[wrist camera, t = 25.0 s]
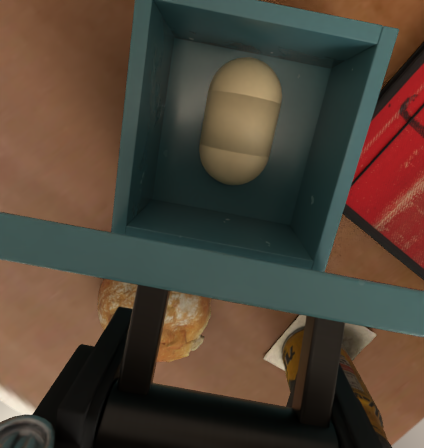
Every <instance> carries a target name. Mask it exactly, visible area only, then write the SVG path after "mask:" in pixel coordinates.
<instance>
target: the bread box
mask: <svg viewBox="0 0 424 448" xmlns="http://www.w3.org/2000/svg"><path fill="white" fill-rule="evenodd" d="M398 32H399V29H397V28H392V27H387V26H382V25H378V24H373V23H368V22H363V21H358V20H353V19H348V18H343V17H338V16H333V15H328V14H323V13H318V12H313V11H308V10H303V9H298V8H293V7H288V6H283V5H279V4H274V3H269V2H264V1H259V0H135V5H134V15H133V25H132V34H131V44H130V54H129V63H128V73H127V83H126V92H125V102H124V112H123V121H122V131H121V141H120V151H119V160H118V170H117V180H116V189H115V199H114V209H113V218H112V228H111V233H117V234H122V235H127V236H133V237H138V238H143V239H149V240H154V241H159V242H165V243H170V244H176V245H181V246H186V247H192V248H197V249H202V250H208V251H213V252H218V253H224V254H229V255H235V256H240V257H245V258H251V259H256V260H261V261H267V262H272V263H277V264H283V265H288V266H294V267H299V268H304V269H310V270H315V271H320V272H325V269H326V265H327V262H328V259H329V256H330V252H331V249H332V246H333V243H334V239H335V236H336V233H337V230H338V226H339V223H340V220H341V217H342V213H343V210H344V207H345V204H346V200H347V197H348V194H349V191H350V187H351V184H352V181H353V178H354V174H355V171H356V168H357V165H358V161H359V158H360V155H361V152H362V149H363V145H364V142H365V139H366V136H367V132H368V129H369V126H370V123H371V119H372V116H373V113H374V110H375V106H376V103H377V100H378V97H379V93H380V90H381V87H382V84H383V80H384V77H385V74H386V71H387V67H388V64H389V61H390V58H391V54H392V51H393V48H394V45H395V41H396V38H397V35H398ZM245 57H250V58H255V59H258V60H260V61H262V62H264V63H266V64H267V65H268V66H269V67H271V68H272V70H273V71H274V72H275V74H276V75H277V77H278V79H279V81H280V85H281V89H282V101H281V107H280V112H279V116H278V120H277V125H276V129H275V134H274V138H273V142H272V147H271V151H270V156H269V159H268V162H267V164H266V166H265V168H264V170H263V171H262V172H261V173H260V174H259V175H258V176H257V177H256V178H255V179H253V180H251V181H249V182H248V183H245V184H241V185H227V184H223V183H221V182H219V181H217V180H215V179H214V178H212V177H211V176H210V175H209V174H208V173H207V171H206V170H205V169H204V167H203V165H202V162H201V159H200V153H199V145H200V138H201V132H202V126H203V120H204V114H205V107H206V101H207V95H208V90H209V87H210V83H211V81H212V79H213V77H214V75H215V74H216V73H217V71H218V70H219V69H220V68H221V67H222V66H223V65H225V64H226V63H228V62H230V61H231V60H234V59H237V58H245Z"/></svg>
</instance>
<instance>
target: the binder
mask: <svg viewBox="0 0 424 448" xmlns="http://www.w3.org/2000/svg"><path fill="white" fill-rule="evenodd" d="M343 214H344V215H345V216H346V217H347V218H348V219H350V220H351V221H352V222H353V223H355V224H356V225H357V226H358V227H360V228H361V229H362V230H363V231H365V232H366V233H367V234H368V235H370V236H371V237H372V238H373V239H374V240H375V241H377V242H378V243H379V244H380V245H381V246H383V247H384V248H385V249H386V250H387V251H388V252H390V253H391V254H392V255H393V256H395V257H396V258H397V259H398V260H400V261H401V262H402V263H403V264H405V265H406V266H407V267H408V268H409V269H411V270H412V271H413V272H414V273H416V274H417V275H418V276H419V277H421V278H422V279H423V280H424V42H423V43H422V45H421V46H420V47H419V48H418V49H417V50H416V52H415V53H414V54H413V55H412V56H411V57H410V58H409V59H408V61H407V62H406V63H405V64H404V65H403V66H402V67H401V68H400V70H399V71H398V72H397V73H396V74H395V75H394V77H393V78H392V79H391V80H390V81H389V82H388V83H387V85H386V86H385V87H384V88H383V89H382V90H381V92H380V93H379V97H378V100H377V103H376V106H375V110H374V113H373V116H372V119H371V123H370V126H369V129H368V132H367V136H366V139H365V142H364V145H363V149H362V152H361V155H360V158H359V161H358V165H357V168H356V171H355V174H354V178H353V181H352V184H351V187H350V191H349V194H348V197H347V200H346V204H345V207H344V210H343Z"/></svg>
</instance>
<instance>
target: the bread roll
mask: <svg viewBox="0 0 424 448" xmlns="http://www.w3.org/2000/svg"><path fill="white" fill-rule="evenodd" d="M136 290H137V285H136V284H130V283H125V282H119V281H114V280H108V279H104V280H103V282H102V284H101V287H100V290H99V295H98V303H97V305H98V316H99V320H100V323H101V326H102V328H103V329H104V330H105V328H106V327H107V325H108V323H109V322H110V320H111V318H112V317H113V315H114V313H115V312H116V310H117V308H118V307H125V308H130V309H133V305H134V300H135V295H136ZM210 302H211V298H206V297H201V296H195V295H190V294H184V293H179V292H174V291H170V295H169V300H168V305H167V310H166V315H165V321H164V326H163V331H162V336H161V341H160V346H159V352H158V357H157V362H160V361H166V362H170V361H173V360H177V359H180V358H182V357H187V356H188V355H189V352H190V351H191V350H193V351H194V350H196V349H197V348H198V347H199V346H200V345H201V344H202V343H203V339H204V336H202V335H200V334H201V333H202V332H203V330H204V329H205V327H206V326H207V324H208V320H209V318H210V316H211V309H210Z"/></svg>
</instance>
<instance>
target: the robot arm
mask: <svg viewBox="0 0 424 448" xmlns="http://www.w3.org/2000/svg"><path fill="white" fill-rule="evenodd" d="M132 310H133V309H130V308H125V307H118V308H117V310H116V312H115V313H114V315H113V317H112V318H111V320H110V322H109V323H108V325H107V327H106V328H105V330H104V332H103V333H102V335H101V337H100V338H99V340H98V342H97V343H96V345H95V347H94V346H89V345H83V344H81V345H80V346H79V347H78V348H77V349H76V351H75V352H74V354H73V355H72V357H71V358H70V360H69V361H68V363H67V364H66V366H65V367H64V369H63V370H62V372H61V373H60V375H59V376H58V377H57V379H56V380H55V382H54V383H53V385H52V386H51V388H50V389H49V391H48V392H47V394H46V395H45V397H44V398H43V400H42V401H41V403H40V404H39V406H38V407H37V409H36V410H35V412H34V413H33V415H21V416H15V417H12V418H9V419H7V420H4V421H2V422H0V448H92V446H93V441H94V436H95V432H96V428H97V424H98V421H99V417H100V414H101V411H102V408H103V405H104V402H105V399H106V397H107V394H108V392H109V390H110V388H111V386H112V384H113V382H114V381H115V379H116V378H119V374H120V369H121V364H122V359H123V354H124V349H125V344H126V339H127V334H128V329H129V324H130V319H131V314H132ZM297 372H298V371H297ZM296 379H297V374H296V377H295V381H294V384H293V387H292V390H291V393H290V396H289V399H288V402H287V406H286V407H290V408H292V404H293V397H294V391H295V385H296ZM331 421H332V422H333V424H334V426H335V429H336V431H337V434H338V438H339V443H340V448H383V447H382V444H381V442H380V440H379V438H378V436H377V434H376V432H375V430H374V428H373V426H372V424H371V422H370V420H369V418H368V416H367V414H366V412H365V410H364V408H363V406H362V404H361V402H360V400H359V399H358V398H357V397H356V396H355V394H354V392H353V390H352V388H351V386H350V384H349V382H348V380H347V378H346V375H345V373H344V371H343V369H342V367H341V365H340V363H339V367H338V374H337V381H336V387H335V394H334V401H333V407H332V414H331Z"/></svg>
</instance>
